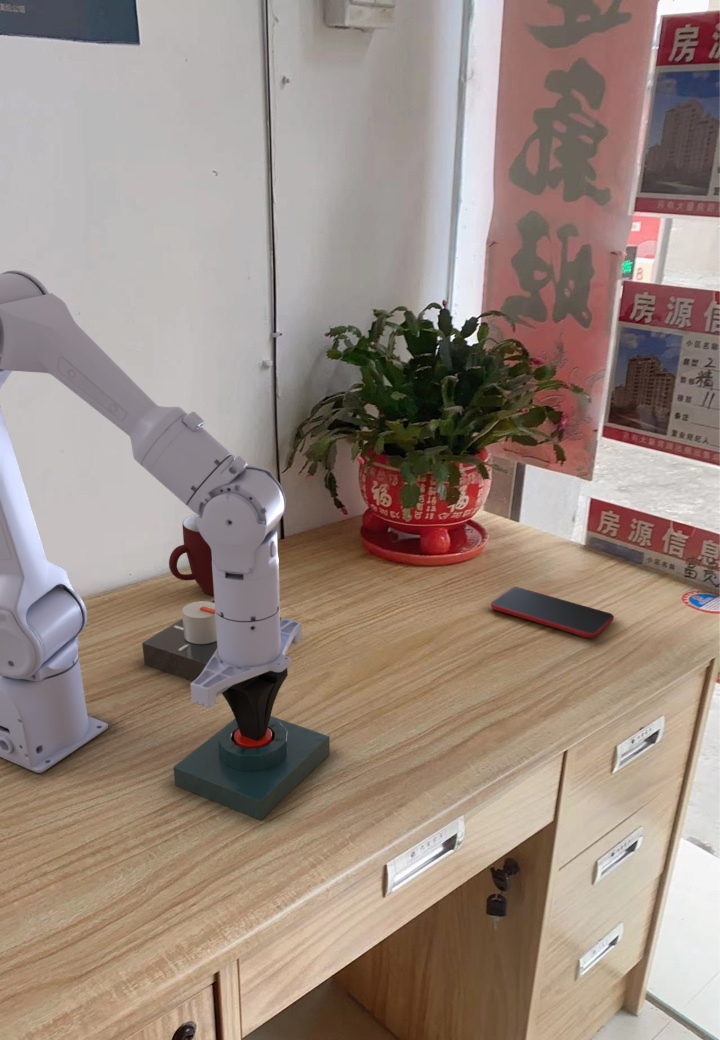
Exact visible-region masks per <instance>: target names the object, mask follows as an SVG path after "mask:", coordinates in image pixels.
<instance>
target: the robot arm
mask: <svg viewBox="0 0 720 1040" xmlns="http://www.w3.org/2000/svg"><path fill="white" fill-rule="evenodd" d="M12 372H25V373H26V372H27V373H41V374H48V375H51V376H52V377H53V378H55V379H56V380H57V381H59V382H60V383H61V384H63V385H64V386H65V387H66V388H68V389H69V390H70V391H71V392H73V393H74V394H75V395H77V396H78V397H79V398H80V399H82V400H83V401H84V402H85V403H86V404H88V405H89V406H90V407H91V408H93V409H94V410H95V411H97V413H99V414H100V415H102V416H103V417H104V418H106V419H107V420H108V421H110V423H112V424H113V425H115V426H116V427H117V428H118V429H120V430H121V431H122V432H123V433H125V435H127V436H128V437H129V439H130V444H131V445H130V446H131V451H132V456H133V459H134V461H136V462H137V463H138V464H139V465H140V466H141V467H143V468H144V469H145V470H146V471H147V472H148V473H149V474H150V475H151V476H152V477H154V478H155V479H156V481H158V482H159V483H160V484H162V486H164V487H165V488H166V489H167V490H168V491H169V492H170V493H171V494H173V495H174V496H175V497H176V498H177V499H178V500H180V501H181V503H183V504H184V505H185V506H186V507H188V508H189V509H190V510H191V511H192V512H193V513H194V514H198V515H199V517H197V518H196V522H197V526H198V529H199V532H200V534H201V535H202V537H203V539H204V540H205V541H206V542H207V543H208V545H209V546H210V548H211V551H212V571H213V586H214V595H213V600H214V601H215V618H216V633H217V649H216V651H215V653H214V654H213V656H212V657H211V659H210V660H209V662H208V663H207V665H206V666H205V668H204V670H203V671H202V673H201V674H200V675H199V677H198V678H197V679H196V680H194V681H191V682H190V697H191V703H193V704H196V705H199V706H201V707H205V708H208V709H212V707H214V706H215V705H216V704H217V697H218V696H220V695H221V694H222V696H223V697H224V699H225V701H226V702H227V704H228V705H229V708H230V710H231V712H232V714H233V716H234V719H236V722H237V725H238V727H239V730H240V733H241V735H242V736H244V737H247V738H250V739H253V740H255V741H259V740H260V739H261V738H262V737H263V736H265V735H266V732H267V728H268V724H269V720H270V716H272V711H273V707H274V705H275V701H276V699H277V696H278V693H279V691H280V689H281V687H282V685H283V684H284V682H285V681H286V679H287V677H288V676H289V675H288V673H289V672H288V669H289V667H290V666H291V663H292V662H291V657H289V656H288V655H286V654H287V653H288V650H289V649H290V646H291V644H294V645H296V644H298V643H300V642H301V641H302V639H303V631H302V629H303V628H302V627H303V626H302V625H303V624H302V622H300V621H296V620H293V619H289V618H286V617H285V618H283V619H281V621H280V617H281V608H280V607H281V601H280V600H281V599H280V566H279V563H280V562H279V553H278V530H276V529H274V528H275V527H276V526H277V524H278V523H279V522H280V520H281V519H282V517H283V515H284V513H285V510H286V505H287V503H286V502H287V500H286V495H285V491H284V488H283V486H282V485H281V483H280V482H279V481H278V479H277V478H276V477H275V476H274V474H273V472H272V471H271V470H270V469H268V468H266V467H264V466H261V465H259V464H248V462H247V461H246V460H245V459H244V458H242V457H241V456H240V455H238V456H237V457H236V456H234V455H233V454H232V453H231V451H229V450H228V449H227V448H226V447H225V446H224V445H223V444H221V442H219V441H218V440H217V439H216V438H215V437H214V436H213V435H211V434H210V433H209V432H208V431H207V430H206V429H205V428H204V427H203V426H204V424H205V420H204V419H203V418H202V417H201V416H199V414H197V412H195V411H191V412H189V413H187V412H186V411H185V410H184V409H183V408H182V407H180V406H161V405H158V404H156V402H155V401H154V400H153V399H152V398H151V397H150V396H149V395H148V394H146V392H145V391H144V390H143V389H142V388H141V387H140V386H139V385H138V384H137V383H136V382H135V381H133V379H132V378H131V377H130V376H129V375H128V374H127V373H126V372H125V371H124V370H123V369H122V368H121V367H120V366H119V365H118V364H117V363H116V362H115V361H114V360H113V359H112V358H111V357H110V355H108V354H107V353H106V352H105V351H104V350H103V348H101V347H100V346H99V345H98V344H97V343H96V342H95V340H93V339H92V338H91V337H90V335H88V334H87V333H86V332H85V330H83V329H82V327H80V325H79V324H77V323H76V321H75V319H74V318H73V316H72V314H71V312H70V310H69V308H68V306H67V304H66V302H65V301H64V300H63V299H61V298H59V297H58V296H56V295H55V294H53V293H52V292H51V293H50V292H49V290H48V289H47V288H46V287H45V285H44V284H43V283H42V282H41V281H40V280H39V279H38V278H36V277H35V276H33V275H32V274H29V273H28V272H26V271H22V270H17V269H16V270H15V269H14V270H7V271H4V272H1V273H0V389H1V388H2V387H3V385H4V384H5V383H6V381H7V380H8V378H9V377H10V375H11V374H12ZM47 559H48V558H47V555H46V552H45V549H44V546H43V541H42V539H41V536H40V532H39V529H38V525H37V523H36V519H35V516H34V513H33V509H32V505H31V502H30V499H29V495H28V493H27V490H26V485H25V483H24V480H23V475H22V473H21V470H20V466H19V463H18V460H17V456H16V454H15V450H14V446H13V443H12V439H11V437H10V434H9V430H8V427H7V424H6V420H5V417H4V413H3V410H2V407H1V406H0V758H2V759H4V760H7V761H9V762H11V763H14V764H15V765H18V766H20V767H22V768H25V769H27V770H29V771H32V772H34V773H37V774H41V773H44V772H46V771H47V770H48V769H50V768H51V767H53V766H54V765H56V764H57V763H59V762H60V761H62V760H63V759H65V758H66V757H68V756H70V754H72V753H74V752H75V751H76V750H78V749H80V748H81V747H82V746H84V745H85V744H87V743H88V742H90V741H91V740H93V739H94V738H96V737H97V736H99V735H100V734H102V733H103V732H105V731H106V730H107V729H108V728H109V724H108V723H107V722H106V721H102V720H99V719H97V718H95V717H93V716H89V715H88V710H87V709H88V708H87V702H86V697H85V689H84V682H83V677H82V671H81V663H80V656H79V649H78V648H79V647H80V642H79V635H80V634H81V633H82V632H83V631H84V630H85V628H86V626H87V623H88V611H87V610H88V609H87V607H86V605H85V602H84V600H83V599H82V597H81V596H80V595H79V593H77V591H76V590H75V588H74V587H73V585H72V583H71V581H70V579H69V575H68V572H67V570H66V569H64V568H63V567H61V566H59V565H56V564H54V563H52V562H50V561H49V560H47Z"/></svg>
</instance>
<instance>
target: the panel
mask: <svg viewBox="0 0 720 1040" xmlns="http://www.w3.org/2000/svg"><path fill="white" fill-rule="evenodd" d="M210 602H213V603H215V601H214V599H213V600H211V601H210ZM281 620H282V617H281V616H280V621H281ZM141 645H142V653H143V662H144V663H143V664H144V666H146V667H150V668H153V669H156V670H159V671H162V672H163V673H167V674H170V675H173V676H177V677H179V678H182V679H185V680H188V681H191V682H193V681H194V680H196V679H197V678H198V677H199V675H200V674H201V673H202V671H203V670H204V668H205V666H206V665H207V663H208V662H209V660H210V659H211V657H212V656H213V654H214V653H215V651H216V649H217V641H215V642H212V643H208V644H194V643H190V642H188V641H187V640H186V639H185V638H184V629H183V618H181V619H179V620H178V621H176V622H175V623H172V624H171V625H169V626H168V627H166V628H164V629H163V630H161V631H159V632H157V633H156V634H155V635H154V634H153V636H151V637H149V638H147V639H146V640H144V641H143V642H141Z"/></svg>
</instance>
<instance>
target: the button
mask: <svg viewBox="0 0 720 1040" xmlns="http://www.w3.org/2000/svg"><path fill="white" fill-rule="evenodd" d="M234 742H235V745H237V746H240V747H243V748H260V747H263V746H266V745H268V744H269V743H271V742H272V732H271V730H270V729H269V728H267V732H266V735H265V736H263V737H262V738H261V739H260V740H259V741H255V740H253V739H250V738H247V737H244V736H242V735H241V733H240V730H239V729H238V730H237V731H236V732H235V734H234Z"/></svg>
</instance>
